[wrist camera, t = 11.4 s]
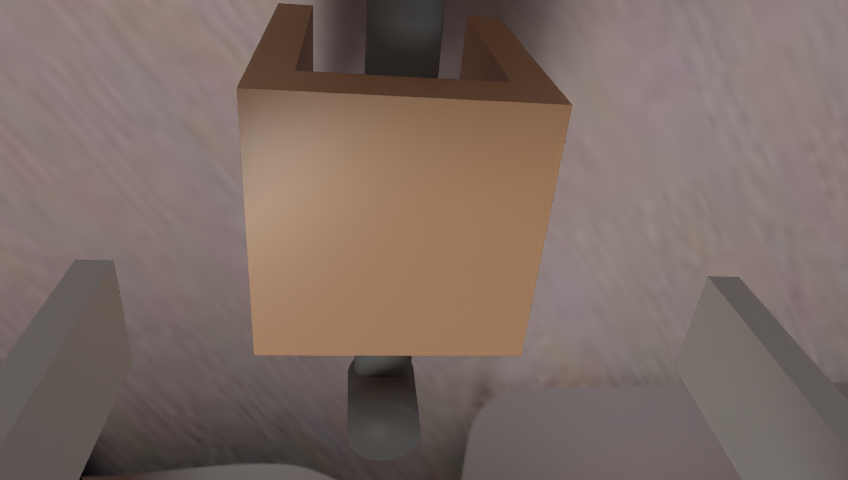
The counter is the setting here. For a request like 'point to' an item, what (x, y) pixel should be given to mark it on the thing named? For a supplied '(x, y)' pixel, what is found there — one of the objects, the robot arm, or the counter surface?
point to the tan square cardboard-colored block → (396, 197)
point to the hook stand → (392, 375)
